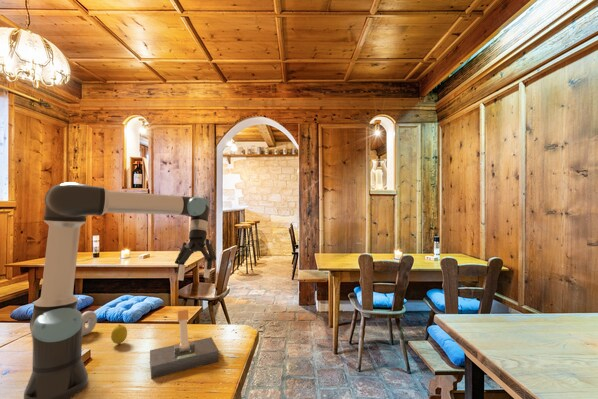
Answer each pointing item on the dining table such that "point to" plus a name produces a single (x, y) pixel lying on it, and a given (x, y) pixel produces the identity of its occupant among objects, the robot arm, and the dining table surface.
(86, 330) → the donut
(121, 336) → the lemon
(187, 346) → the lever
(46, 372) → the robot arm
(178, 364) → the box
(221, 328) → the dining table surface
